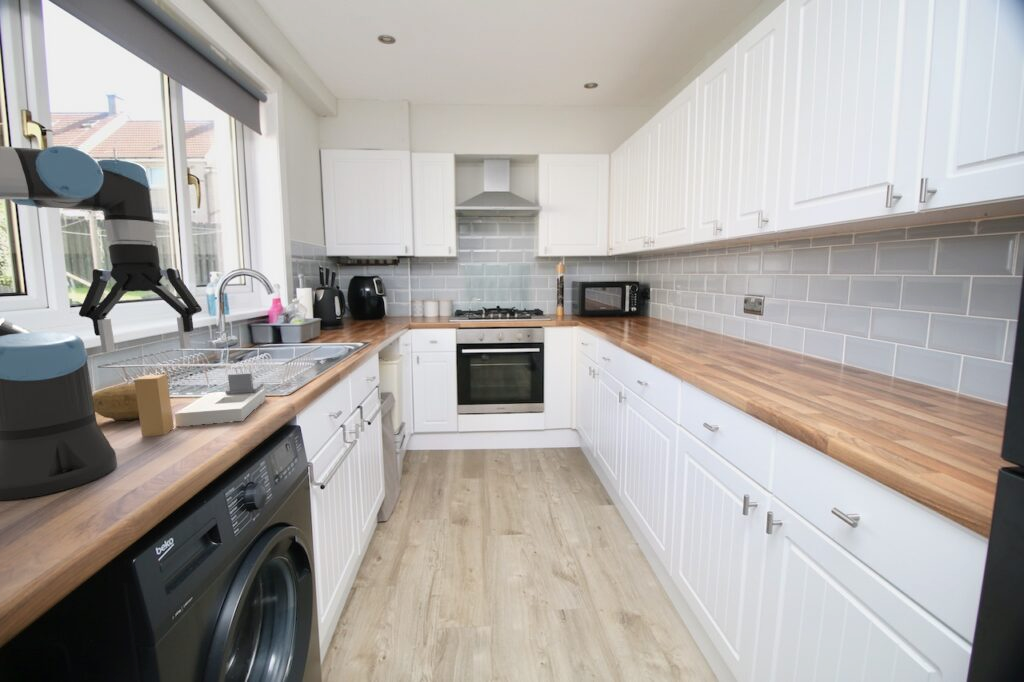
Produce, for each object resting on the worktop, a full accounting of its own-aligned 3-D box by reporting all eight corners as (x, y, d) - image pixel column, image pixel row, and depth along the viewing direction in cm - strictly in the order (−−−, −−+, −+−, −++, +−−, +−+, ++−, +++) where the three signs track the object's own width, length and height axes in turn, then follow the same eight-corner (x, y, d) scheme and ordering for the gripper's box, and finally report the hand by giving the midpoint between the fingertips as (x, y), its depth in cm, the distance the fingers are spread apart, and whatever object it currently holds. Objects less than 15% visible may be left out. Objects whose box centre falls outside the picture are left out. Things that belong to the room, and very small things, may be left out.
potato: (99, 418, 105) (94, 384, 104) (173, 408, 112) (169, 377, 111) (86, 430, 97) (80, 394, 96) (167, 418, 104) (162, 385, 102)
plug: (164, 434, 93) (157, 378, 91) (142, 436, 92) (134, 379, 90) (173, 428, 97) (166, 374, 95) (152, 430, 96) (145, 375, 94)
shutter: (255, 392, 114) (253, 373, 113) (225, 394, 112) (223, 375, 112) (263, 385, 121) (261, 368, 120) (235, 387, 119) (233, 370, 118)
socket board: (242, 421, 101) (240, 408, 100) (176, 426, 98) (174, 413, 97) (265, 400, 118) (264, 389, 118) (210, 404, 115) (208, 392, 115)
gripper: (211, 245, 95) (223, 343, 98) (71, 245, 89) (88, 350, 93) (196, 242, 88) (209, 349, 91) (42, 242, 82) (61, 356, 85)
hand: (148, 349), depth 92 cm, fingers open, 13 cm apart
